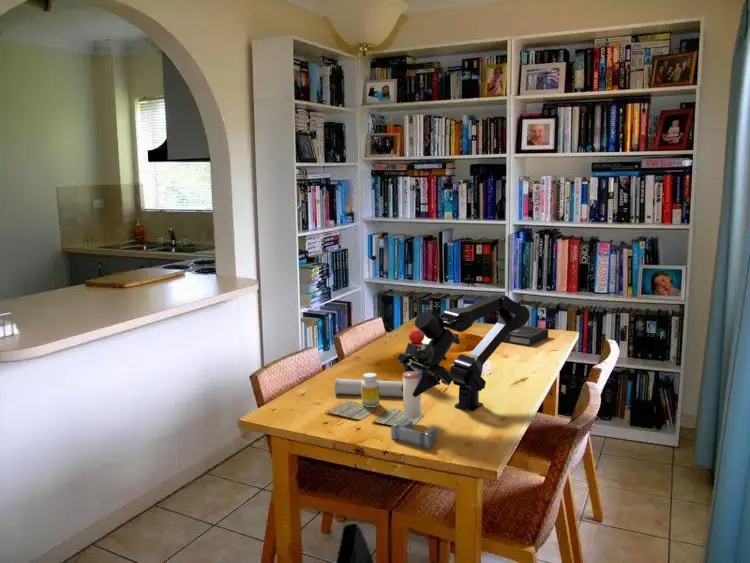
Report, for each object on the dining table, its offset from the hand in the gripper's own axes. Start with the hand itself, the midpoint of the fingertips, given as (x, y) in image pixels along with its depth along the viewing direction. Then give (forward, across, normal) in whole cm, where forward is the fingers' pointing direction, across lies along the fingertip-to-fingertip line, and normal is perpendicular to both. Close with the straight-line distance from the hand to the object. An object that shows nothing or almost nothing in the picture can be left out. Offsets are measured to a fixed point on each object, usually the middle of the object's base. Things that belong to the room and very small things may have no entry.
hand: (407, 393), depth 181 cm
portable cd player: (-57, -42, +72) cm, 101 cm away
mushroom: (+4, 0, +6) cm, 7 cm away
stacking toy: (-10, -26, +24) cm, 37 cm away
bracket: (+10, +9, +3) cm, 14 cm away
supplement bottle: (+6, -20, +7) cm, 22 cm away
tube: (+2, -26, +12) cm, 29 cm away
